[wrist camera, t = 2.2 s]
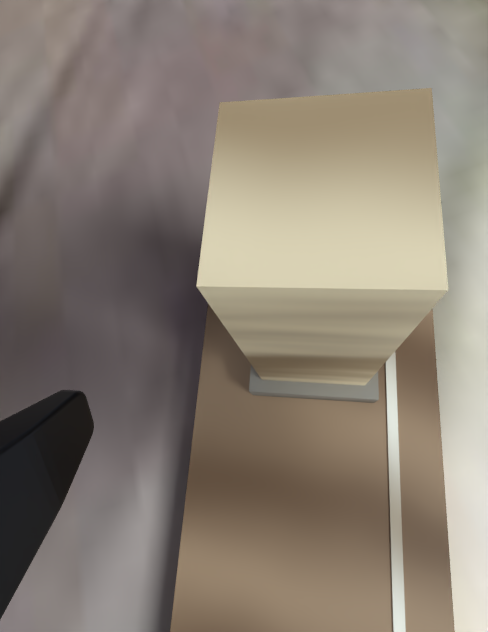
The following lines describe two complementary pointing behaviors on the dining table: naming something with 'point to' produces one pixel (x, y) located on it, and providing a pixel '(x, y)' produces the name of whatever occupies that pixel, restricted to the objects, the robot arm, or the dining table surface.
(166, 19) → the dining table surface
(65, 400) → the robot arm
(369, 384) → the tall beige pillar block
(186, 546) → the walnut board
